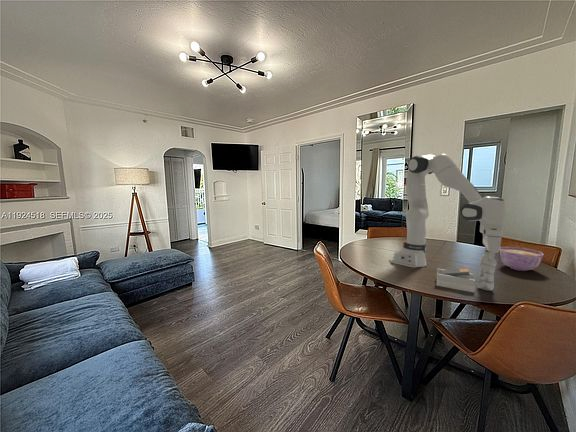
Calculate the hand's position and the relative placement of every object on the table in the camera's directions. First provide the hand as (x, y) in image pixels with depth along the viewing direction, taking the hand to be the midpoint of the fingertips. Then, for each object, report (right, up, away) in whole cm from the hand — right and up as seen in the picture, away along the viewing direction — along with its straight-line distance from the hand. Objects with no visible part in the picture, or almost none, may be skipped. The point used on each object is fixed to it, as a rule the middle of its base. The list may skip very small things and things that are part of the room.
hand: (489, 256), depth 118 cm
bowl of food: (+44, -13, +31) cm, 56 cm away
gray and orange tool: (-12, -10, +8) cm, 17 cm away
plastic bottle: (0, -17, +3) cm, 18 cm away
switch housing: (-11, -16, +9) cm, 22 cm away
